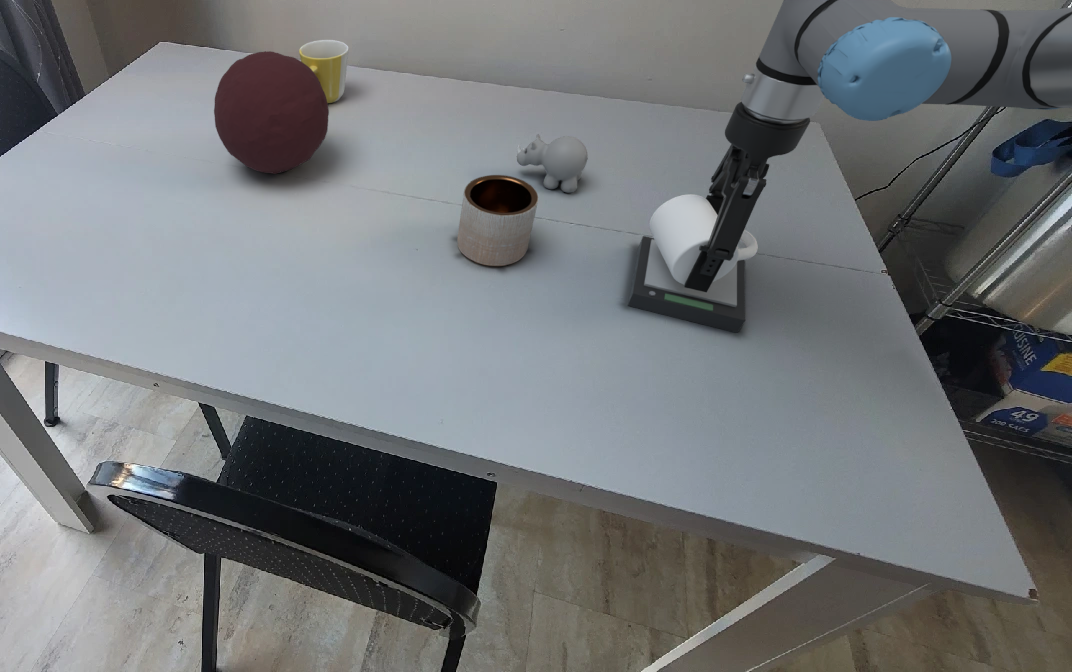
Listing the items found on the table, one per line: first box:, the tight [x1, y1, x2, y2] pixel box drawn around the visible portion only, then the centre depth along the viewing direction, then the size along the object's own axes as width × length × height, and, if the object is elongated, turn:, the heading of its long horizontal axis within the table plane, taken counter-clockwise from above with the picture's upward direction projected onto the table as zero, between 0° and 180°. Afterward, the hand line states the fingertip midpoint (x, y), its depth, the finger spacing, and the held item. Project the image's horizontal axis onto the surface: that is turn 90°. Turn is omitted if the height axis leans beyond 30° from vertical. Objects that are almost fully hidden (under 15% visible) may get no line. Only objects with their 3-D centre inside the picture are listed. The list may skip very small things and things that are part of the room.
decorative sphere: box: [213, 50, 330, 175], centre depth 105 cm, size 20×20×20 cm
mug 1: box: [298, 39, 350, 104], centre depth 126 cm, size 14×10×10 cm
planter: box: [456, 174, 539, 267], centre depth 90 cm, size 11×11×10 cm
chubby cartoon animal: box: [516, 133, 589, 194], centre depth 103 cm, size 7×12×8 cm, turn 61°
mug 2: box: [648, 193, 759, 285], centre depth 80 cm, size 12×10×8 cm
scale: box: [627, 235, 746, 334], centre depth 85 cm, size 14×14×3 cm
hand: (697, 261), depth 82 cm, fingers closed on mug 2, 11 cm apart
